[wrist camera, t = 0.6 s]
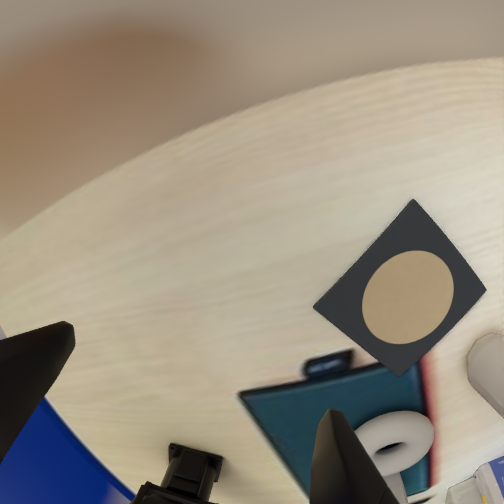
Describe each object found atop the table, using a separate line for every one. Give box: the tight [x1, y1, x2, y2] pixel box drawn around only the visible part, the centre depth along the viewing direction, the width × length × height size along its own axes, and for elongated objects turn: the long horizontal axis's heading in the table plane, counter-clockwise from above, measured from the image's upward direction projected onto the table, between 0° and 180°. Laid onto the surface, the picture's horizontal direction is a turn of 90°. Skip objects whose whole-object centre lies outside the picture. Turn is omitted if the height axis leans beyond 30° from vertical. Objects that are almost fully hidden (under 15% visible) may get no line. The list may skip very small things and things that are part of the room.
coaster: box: [313, 199, 486, 377], centre depth 22 cm, size 11×11×1 cm
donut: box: [354, 411, 434, 476], centre depth 25 cm, size 10×4×10 cm
